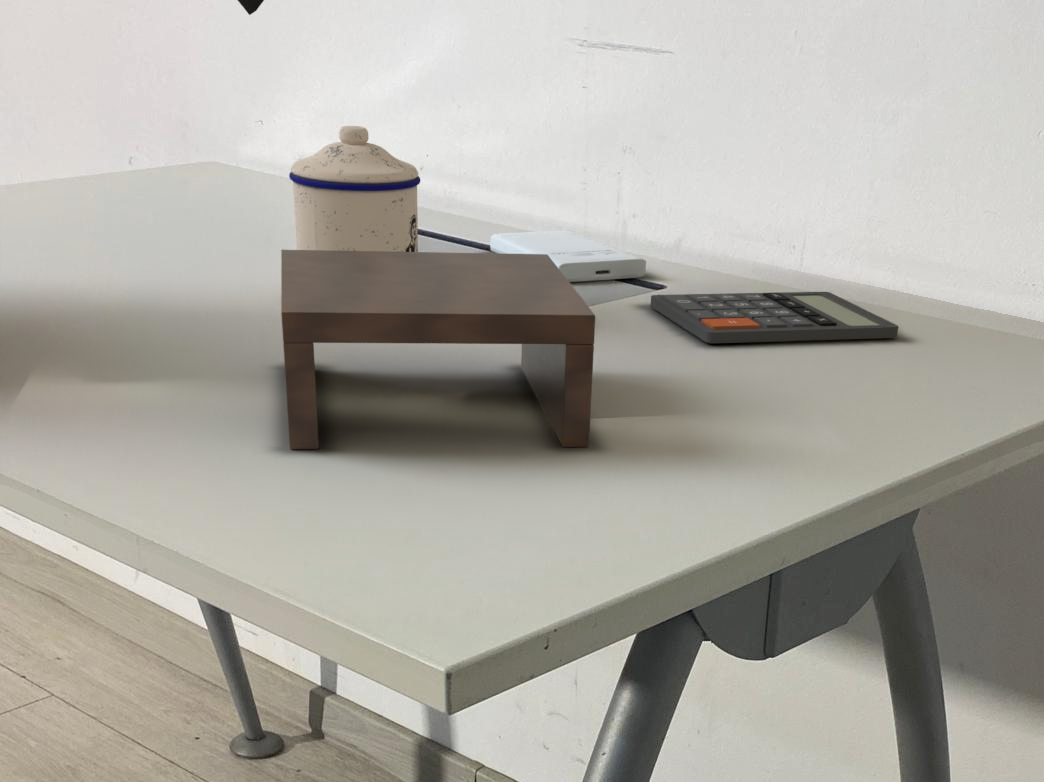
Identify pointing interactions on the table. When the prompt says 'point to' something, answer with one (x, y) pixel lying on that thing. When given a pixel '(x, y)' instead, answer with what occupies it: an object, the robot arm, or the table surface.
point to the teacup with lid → (355, 198)
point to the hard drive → (572, 254)
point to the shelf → (439, 321)
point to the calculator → (771, 317)
